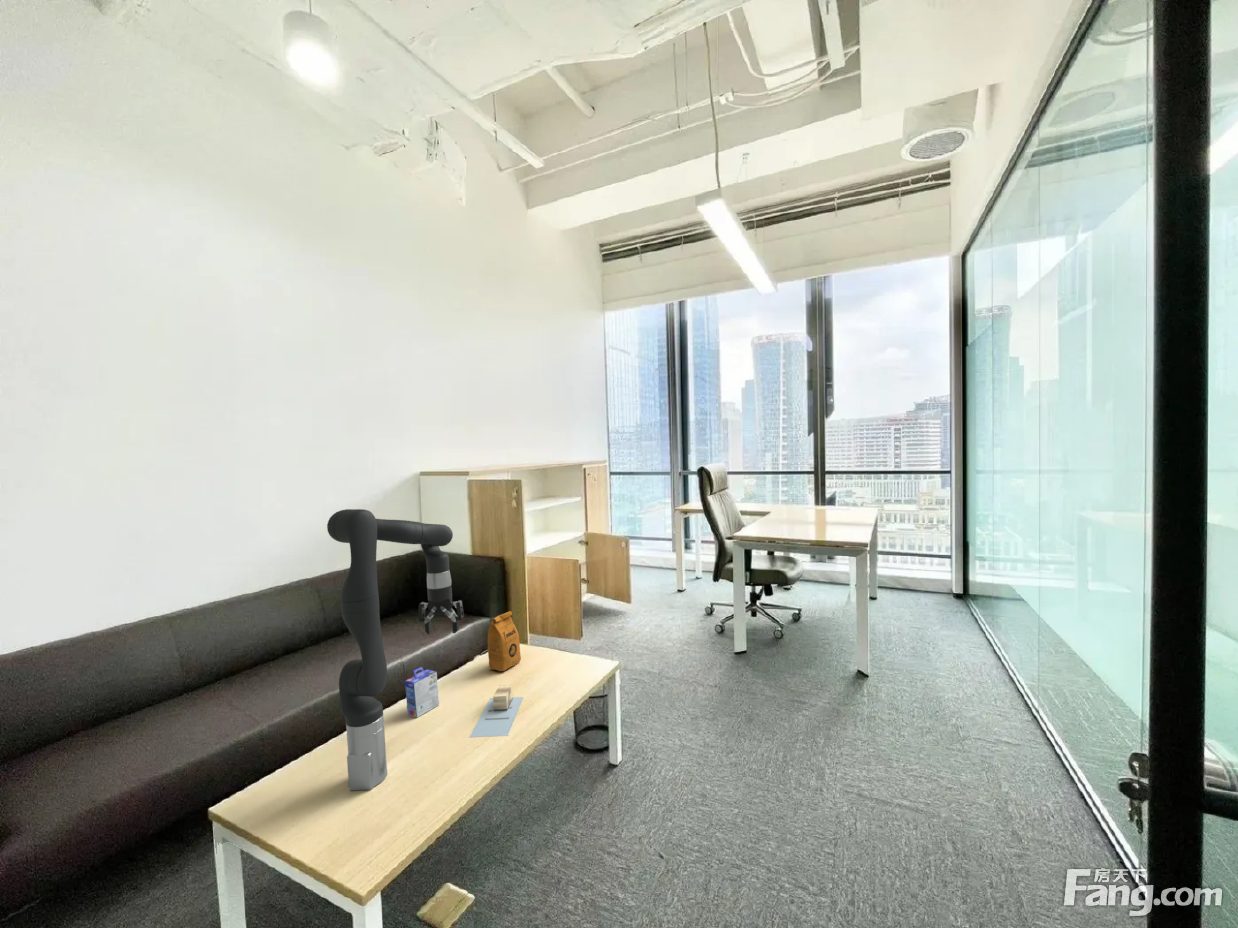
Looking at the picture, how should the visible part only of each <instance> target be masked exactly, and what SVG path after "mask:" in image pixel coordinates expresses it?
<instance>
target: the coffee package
mask: <svg viewBox="0 0 1238 928" xmlns="http://www.w3.org/2000/svg"><path fill="white" fill-rule="evenodd" d="M512 615H513V612H512V611H511V610H509V611H507V612H505V613H502V614H499V615H497V616H495V617H494V618H492V620H491V622H490V626H489V627H488V630H487V654H488V655H487V656H488V665H489V667H488V668H489V670H492V671H493V670H494V671H495V670H496V671H498V672H505V671H506V670H507V669H508V670H509V668H511V667H514V666H515V665H517V664H519V663H520V662H521V659H522V656H521V646H520V645H521V644H520V636H519V635H520V634H519V631H518V630H517V626H516V625H515V624H514V621H513V619H512V617H511V616H512Z"/></svg>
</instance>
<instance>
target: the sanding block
mask: <svg viewBox="0 0 1238 928" xmlns="http://www.w3.org/2000/svg"><path fill="white" fill-rule="evenodd" d="M512 685H513V684H504V685H503V684H502V685H498V687H497V689H496V691H495V692H494V694H493V695H492V698H493V703H494V711H507V710H508V708H509V706H510V703H511V701H512V699H513V697H514V696H513V686H512Z"/></svg>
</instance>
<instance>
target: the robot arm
mask: <svg viewBox="0 0 1238 928" xmlns="http://www.w3.org/2000/svg"><path fill="white" fill-rule="evenodd" d="M326 528H327V533H328V535H329V536H330V538H332V540H334V541H337V542H339V543H345V544H346V543H347V544H349V550H350V564H349V565H350V566H349V569H348V572H347V574H346V577H345V579H344V582H343V583H342V587H341V591H340V609H341V617H342V620H343V622H344V625H345V627H346V628H347V629H348V631H349V632H350V634H351V636H352V637H353V638H354V640H355V641H356V643H357V646H358V649H359V651H360V655H361V659H351V660H349V661H348V662H347V663H345V664H344V665H343V666H342V669H341V670H340V674H339V677H338V690H339V691H338V692H339V699H340V706H341V713H342V716H343V717H344V719H345V726H346V727H345V728H346V742H347V745H346V746H347V756H346V762H347V776H348V777H347V779H348V790H349V791H364V790H365V791H367V790H373V788H375V786H377V785H379V784H380V783H383V781H384V780H385V779H386V777H387V776H388V764H387V752H386V751H387V750H386V736H385V722H384V721H385V720H384V706H383V704H382V703H381V701H379V700H378V699H376V698H375V696H378V695H380V694H381V693H382V692H383V690H384V688H386V687H385V686H386V684H387V679H388V667H387V665H388V664H387V659H386V655H385V650H384V644H383V637H382V629H381V619H380V618H381V616H380V598H379V597H380V596H379V589H378V588H379V586H378V571H377V570H378V569H377V568H378V567H377V546H378V545H377V544H378V541H382V542H383V541H384V542H390V543H396V544H404V545H405V544H407V545H420V546H421V549H422V553H423V555H424V557H425V561H426V588H427V590H426V591H427V601H428V602H425V601H421V602H420V603H419V604H418V622H420V623H423V624H424V628H425V630H424V631H425V634H427V635H431V634H432V631H433V629H432V627H433V626H432V621H431V620H432V619H433V617H434V616H435V617H438V616H441V617H442V616H443V617H444V616H447V618H449V619H450V620H451V621H452V622H451V626H452V627H451V628H452V633H453V634H457V632H458V631H459V621H462V619H463V618H464V617H465V615H464V606H463V600H462V599H460V600H458V601H457V600H456V601H453V588H452V576H451V572H450V557H449V554H447V553H446V552H444V551H442V550H441V548H440V547H444V546H447V545H449V544H450V543H451V542H452V540H453V537H454V535H453V533H454V532H453V530H452V528H450V526H448V525H446V524H437V523H425V522H419V521H414V520H404V519H387V518H385V519H383V518H376V517H375V515H374V513H373V512H371V511H370V510H367V509H359V508H357V509H356V508H355V509H354V508H352V509H351V508H349V509H341V510H338V511H335V513H333V514H332V515H331V516H330V517H329V519H328V521H327V524H326ZM453 606H454V607H455V609H456V612H455V610H454V609H453ZM427 608H428V610H429V613H428V614H427V616H426V609H427ZM456 613H457V614H456Z"/></svg>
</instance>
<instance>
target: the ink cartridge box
mask: <svg viewBox="0 0 1238 928" xmlns="http://www.w3.org/2000/svg"><path fill="white" fill-rule="evenodd" d="M418 671H419V672H418ZM417 672H418V673H417ZM437 674H438V673H437V671H436V670H432V669H425V670H424V668H423V667H422V666H420V667H418V668H416V669H413V676H412V677H409V678H408V679H406V680H405V681H404V687H405V697H406V708H407V716H410V717H413V718H415V719H417V718H419V717H421V716H422V715H424V714H426V713H427V712H429V711H430V710H433V709H434V708H436V707H438V706H439V705H440V700H439V698H440V697H439V685H438V675H437Z"/></svg>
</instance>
